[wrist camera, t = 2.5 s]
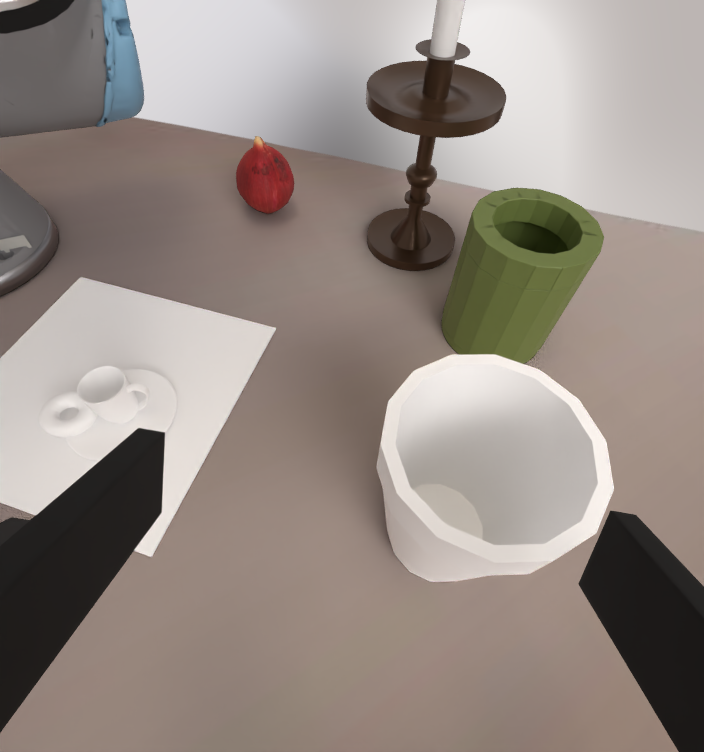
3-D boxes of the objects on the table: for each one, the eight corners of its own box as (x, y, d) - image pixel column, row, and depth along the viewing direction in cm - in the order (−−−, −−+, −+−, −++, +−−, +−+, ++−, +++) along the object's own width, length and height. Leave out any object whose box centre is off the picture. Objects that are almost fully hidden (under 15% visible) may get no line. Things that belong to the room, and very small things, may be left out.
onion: (306, 209, 48) (302, 135, 42) (273, 235, 45) (262, 161, 39) (266, 191, 50) (256, 117, 43) (232, 215, 47) (215, 140, 41)
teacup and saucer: (33, 442, 31) (-3, 414, 28) (101, 359, 36) (77, 326, 32) (141, 478, 30) (116, 453, 27) (197, 387, 34) (183, 355, 31)
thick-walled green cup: (425, 305, 40) (451, 198, 31) (508, 286, 42) (555, 180, 33) (469, 380, 36) (514, 279, 27) (560, 355, 37) (631, 252, 28)
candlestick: (344, 261, 43) (360, -546, 15) (376, 202, 49) (432, -456, 21) (450, 288, 42) (702, -569, 13) (470, 223, 48) (673, -463, 19)
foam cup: (453, 444, 32) (511, 328, 22) (537, 561, 28) (664, 489, 17) (339, 501, 30) (342, 401, 19) (411, 642, 25) (468, 615, 14)
